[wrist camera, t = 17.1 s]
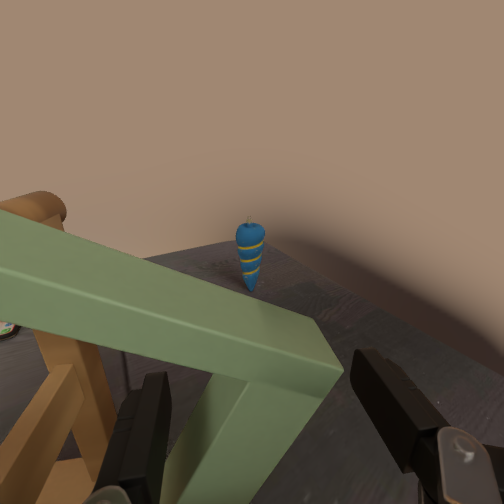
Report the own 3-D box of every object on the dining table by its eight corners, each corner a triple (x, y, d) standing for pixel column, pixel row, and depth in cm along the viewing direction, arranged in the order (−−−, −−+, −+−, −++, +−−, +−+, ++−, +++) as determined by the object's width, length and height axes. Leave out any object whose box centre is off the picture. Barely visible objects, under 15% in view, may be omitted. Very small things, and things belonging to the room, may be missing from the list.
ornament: (269, 291, 51) (271, 215, 45) (250, 301, 48) (249, 221, 42) (250, 282, 55) (250, 210, 49) (231, 291, 51) (229, 215, 46)
